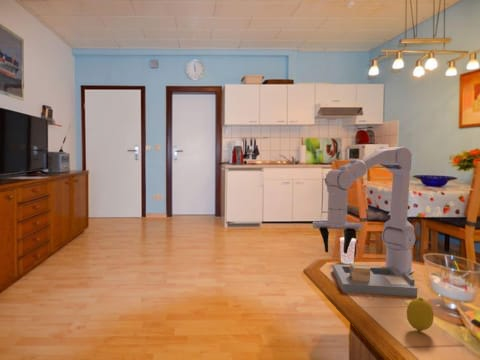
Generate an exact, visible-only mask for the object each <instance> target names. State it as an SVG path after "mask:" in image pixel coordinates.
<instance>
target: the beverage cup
mask: <svg viewBox="0 0 480 360" xmlns="http://www.w3.org/2000/svg"><path fill="white" fill-rule="evenodd" d="M339 241H340V262H341V263H342V264H344V265H350V263H354V259H355V249H356V248H355V247H356V243H357V238H354V237H353V238H352V240H351V242H350V244H349V247H348V250H347V253H344V236H343V237H339Z"/></svg>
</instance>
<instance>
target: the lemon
mask: <svg viewBox="0 0 480 360" xmlns="http://www.w3.org/2000/svg"><path fill="white" fill-rule="evenodd" d="M406 318H407V321H408V324H409V325H410V326H411V327H412V328H414V329H415V330H416V331H417V332H420V333H421V332H422V331H426V330H428V329H430V328H431V327H432V325H433V323H434V309H433V307H432V304H431V303H430V302H429V301H427V300H426V299H424V298H423V297H421V296H420V297H418V298H417V297H416V298H415V299H412V300H411V301H410V302H409V303H408V305H407V309H406Z"/></svg>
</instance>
